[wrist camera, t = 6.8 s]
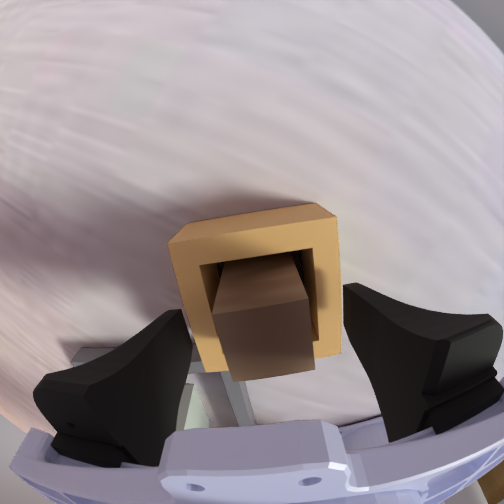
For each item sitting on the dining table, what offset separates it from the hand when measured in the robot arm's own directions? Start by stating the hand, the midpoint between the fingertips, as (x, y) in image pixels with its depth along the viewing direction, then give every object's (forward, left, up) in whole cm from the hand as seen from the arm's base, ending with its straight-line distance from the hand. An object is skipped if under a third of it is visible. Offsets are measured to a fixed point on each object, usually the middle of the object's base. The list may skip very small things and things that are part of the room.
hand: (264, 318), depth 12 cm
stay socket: (0, 0, -5) cm, 5 cm away
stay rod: (0, 0, -5) cm, 5 cm away
